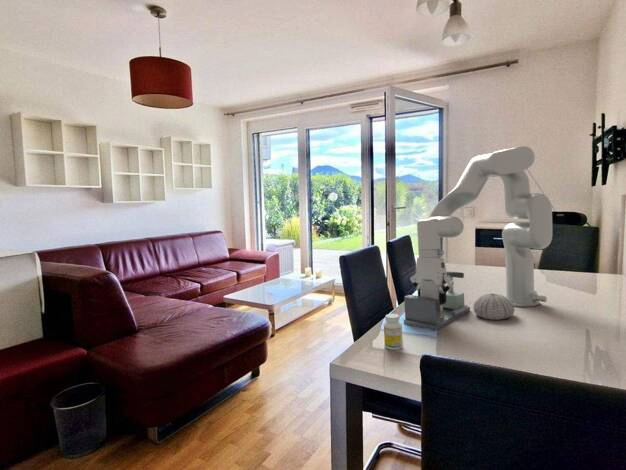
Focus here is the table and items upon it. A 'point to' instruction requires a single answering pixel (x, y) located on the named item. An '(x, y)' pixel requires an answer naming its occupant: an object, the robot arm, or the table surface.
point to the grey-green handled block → (454, 293)
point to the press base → (429, 312)
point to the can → (430, 291)
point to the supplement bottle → (393, 332)
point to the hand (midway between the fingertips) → (432, 301)
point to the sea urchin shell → (493, 307)
